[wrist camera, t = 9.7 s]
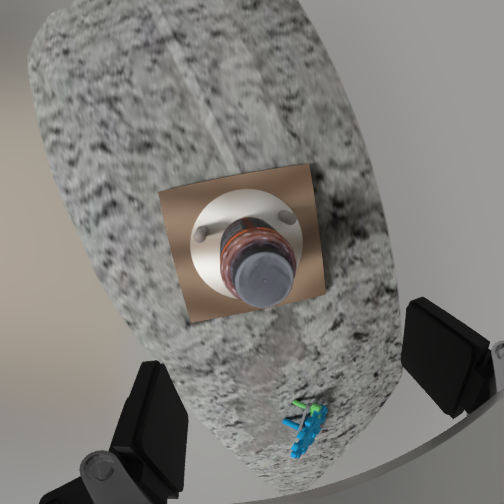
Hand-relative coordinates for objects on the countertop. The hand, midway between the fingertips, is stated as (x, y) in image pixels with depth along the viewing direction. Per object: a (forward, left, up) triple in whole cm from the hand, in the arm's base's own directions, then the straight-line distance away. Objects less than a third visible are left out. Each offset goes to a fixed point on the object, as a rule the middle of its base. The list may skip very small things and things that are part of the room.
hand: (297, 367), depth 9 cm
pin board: (0, 0, -22) cm, 22 cm away
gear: (+30, +4, -22) cm, 37 cm away
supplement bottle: (0, 0, -21) cm, 21 cm away
